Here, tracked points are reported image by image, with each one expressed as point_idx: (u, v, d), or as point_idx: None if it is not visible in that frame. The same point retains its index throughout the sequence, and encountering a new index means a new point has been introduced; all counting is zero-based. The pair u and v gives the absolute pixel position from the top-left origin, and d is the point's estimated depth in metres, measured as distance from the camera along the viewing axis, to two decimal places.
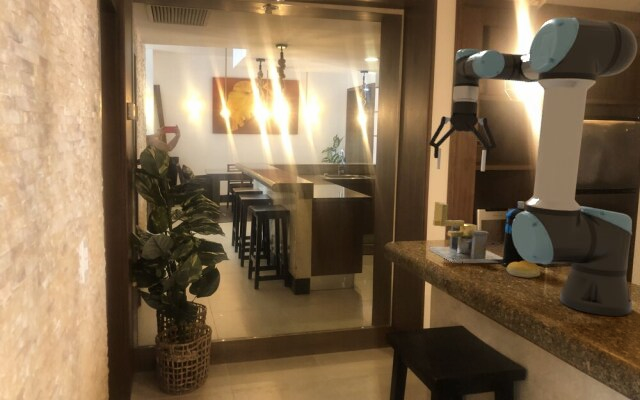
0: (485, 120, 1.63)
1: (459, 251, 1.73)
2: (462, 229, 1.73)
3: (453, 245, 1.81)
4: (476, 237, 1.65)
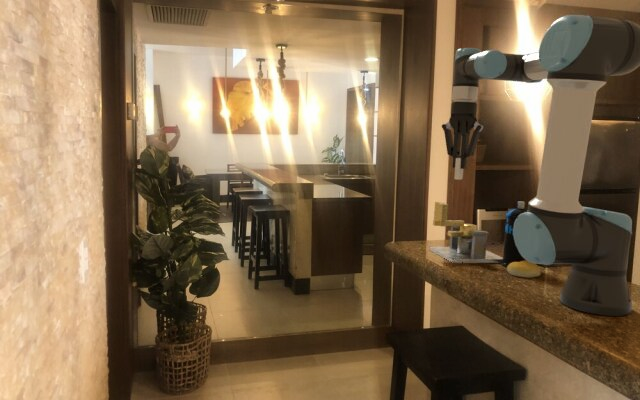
0: (478, 128, 1.58)
1: (459, 251, 1.73)
2: (462, 229, 1.73)
3: (453, 245, 1.81)
4: (476, 237, 1.65)
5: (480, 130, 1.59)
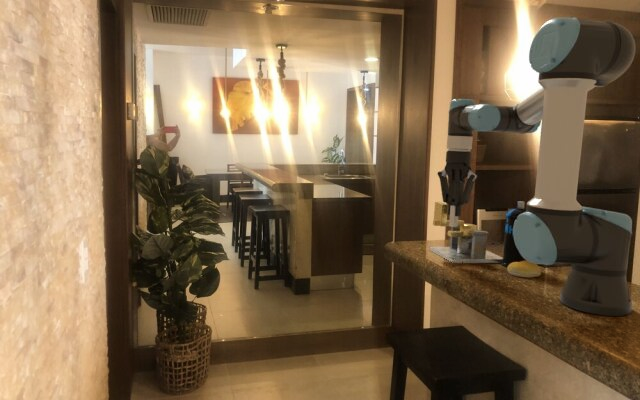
0: (471, 177, 1.60)
1: (459, 251, 1.73)
2: (462, 229, 1.73)
3: (453, 245, 1.81)
4: (476, 237, 1.65)
5: (474, 179, 1.61)
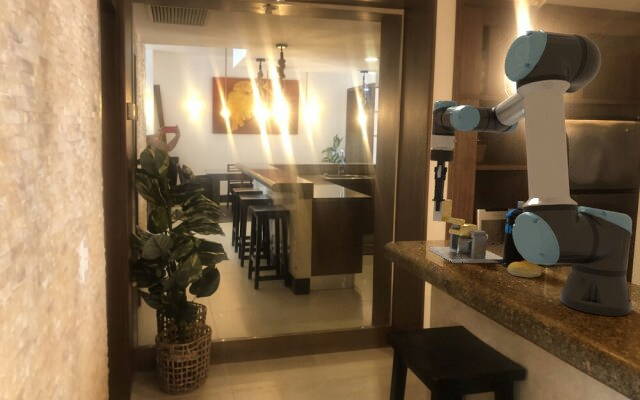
0: (435, 173, 1.69)
1: (459, 251, 1.73)
2: None
3: (453, 245, 1.81)
4: (476, 237, 1.65)
5: (438, 176, 1.69)
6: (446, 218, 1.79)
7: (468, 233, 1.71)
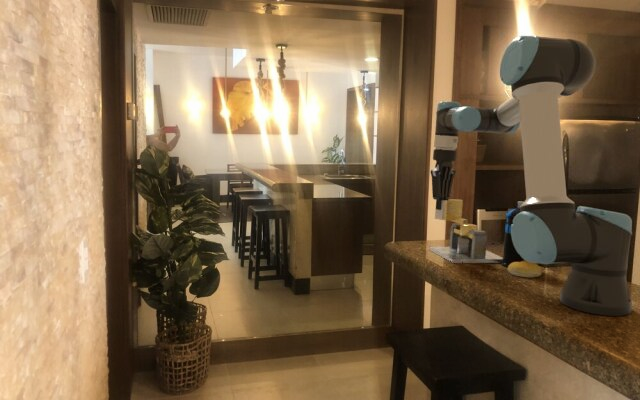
0: None
1: (459, 251, 1.73)
2: None
3: (453, 245, 1.81)
4: (476, 237, 1.65)
5: (434, 174, 1.74)
6: (453, 217, 1.81)
7: (465, 233, 1.72)
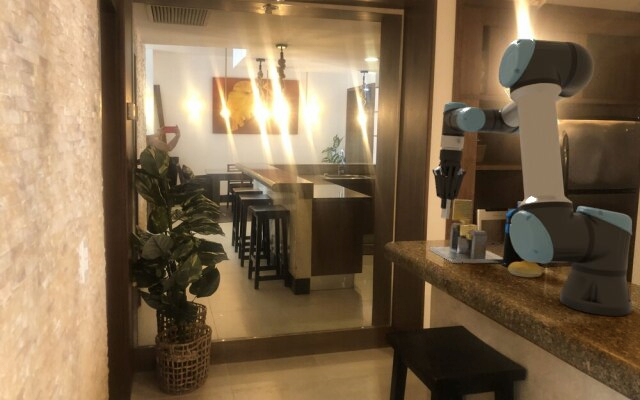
0: None
1: (459, 251, 1.73)
2: None
3: (453, 245, 1.81)
4: (476, 237, 1.65)
5: (435, 173, 1.78)
6: (460, 218, 1.82)
7: (462, 232, 1.72)
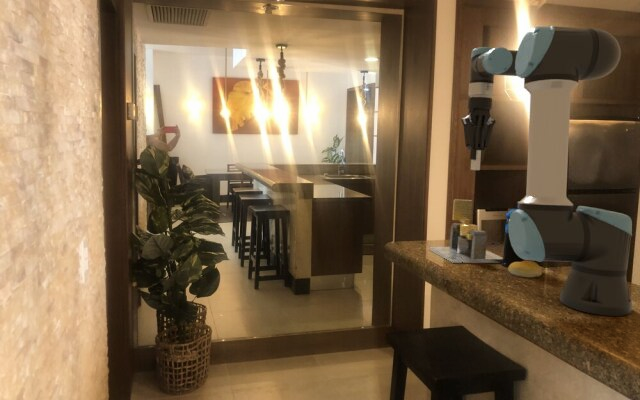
0: None
1: (459, 251, 1.73)
2: None
3: (453, 245, 1.81)
4: (476, 237, 1.65)
5: (464, 122, 1.71)
6: (460, 218, 1.82)
7: (462, 232, 1.72)
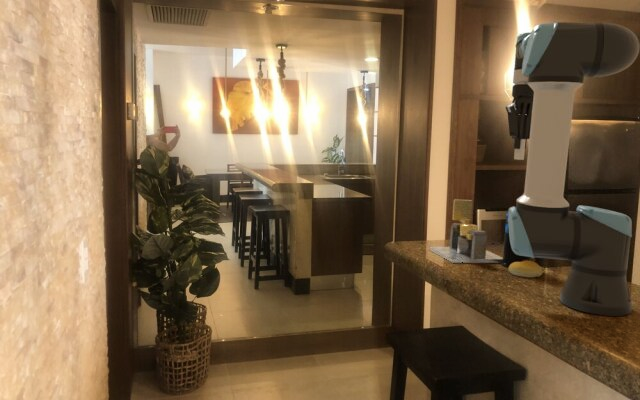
0: None
1: (459, 251, 1.73)
2: None
3: (453, 245, 1.81)
4: (476, 237, 1.65)
5: (509, 110, 1.66)
6: (460, 218, 1.82)
7: (462, 232, 1.72)
